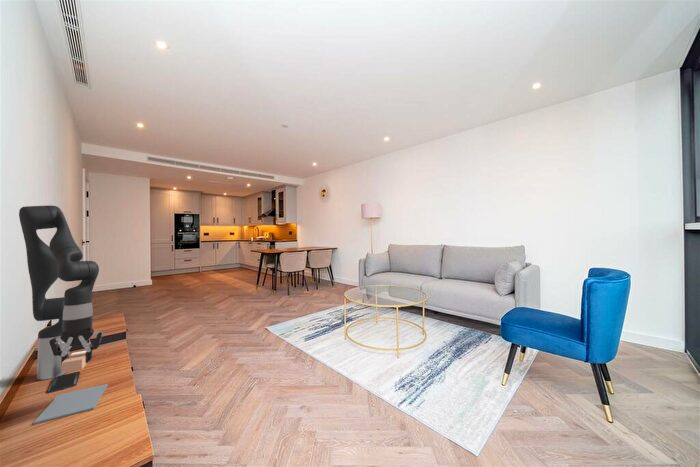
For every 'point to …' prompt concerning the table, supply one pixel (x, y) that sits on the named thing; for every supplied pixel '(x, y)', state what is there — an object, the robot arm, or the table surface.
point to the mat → (72, 403)
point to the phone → (64, 382)
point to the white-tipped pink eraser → (74, 362)
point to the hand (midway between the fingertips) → (77, 363)
